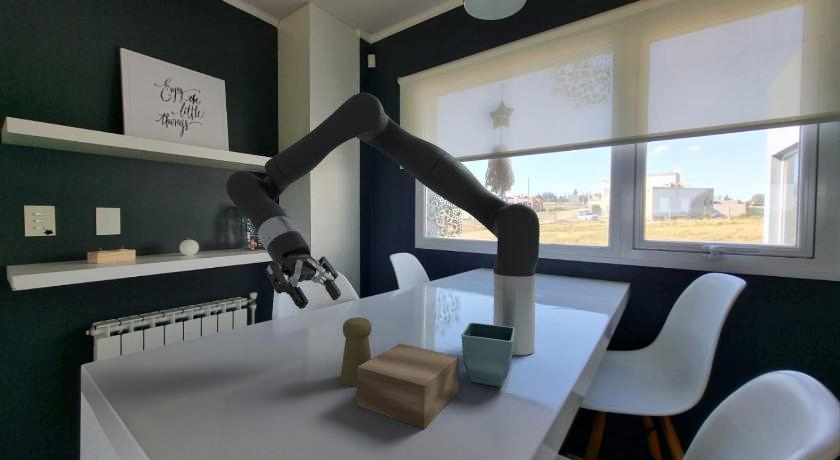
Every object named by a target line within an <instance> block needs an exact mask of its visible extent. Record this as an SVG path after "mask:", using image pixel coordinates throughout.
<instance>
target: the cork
mask: <svg viewBox="0 0 840 460" xmlns="http://www.w3.org/2000/svg"><path fill="white" fill-rule="evenodd" d="M372 328H373V327H372V323H371V321H370V319H368V318H366V317H359V316H358V317H351V318H348V319H346V320H345V322H343V325H342V334H343V336H344V337H345V341H344V342H345V343H344V350H343V355H342V362H341V363H342V364H341V370H340V371H341V372H340V376H339V377H340V378H339V379H340V380H339V381H340V383H341V385H344V386H346V387H354V388H355V387H356V388H357V367H358V366H360V365H362V364H363V363H365V362H367V361H369V360H371V359H372V355H371V348H370V347H371V346H370V339H369V336H370V335H371V332H372V331H373V330H372Z"/></svg>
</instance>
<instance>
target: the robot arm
mask: <svg viewBox="0 0 840 460" xmlns="http://www.w3.org/2000/svg"><path fill="white" fill-rule="evenodd" d="M382 105H383V104H382V103H381V100H379V98H378V97H376V96H375V95H373V94H371V93H368V92H358V93H356V94H354V95H352V96H349V98H348V99H347V100H345V101H344V102H343V103H341V105H340V106H339V107H337V109H336V110H335V111H334V112H332V114H330V115H329V116H328V117H326V119H324V120H323V121H322V122H321V123H319V125H317V126H316V127H315V128H314V129H312V130H311V131H310V132H308V133H306V134H305V135H304V136H303V137H302V138H300V139H299V140H298V141H295V142H294V143H293V144H291V145H289V146H288V147H287V148H285V149H283V150H281V152H278V153H277V154H275V155H274V156H273V157H271V158H269V159H268V160H267V161H266V162H265V164H264V170H265V172H266V174H267V176H266V177H265V178H264V179H263V178H262V179H261V178H260V177H258V176H257V175H255V174H254V173H251V172H249V171H246V170H238V171H234V172H232V173H231V174H230V175H229V176H228V178H227V179H226V182H225V190H226V193H227V196H228V198H229V199H230V201H231V202H232V203H233V204H234V205H235V206H236V208H237V209H238V210H239V211H240V212H241V213H242V214H243V215H244V216H245V217H246V218H247V219H248V220H249V221H250V223H251V225H252V227H253V229H254V230H255V231H256V233H257V235H258V236H259V240H260V242H261V244H262V245H263V247H264V249H265V251H266V252H267V254H268V256H269V257H270V259H271V261H270V263H269V265H268V266H267V267H266V269H265V273H266V276H267V277H268V279H269V281H270V284H271V285H272V287H273V289H274V291H275V293H277V294H278V295H279V294H282V293H285V294H286V295H289V297H290V299H291V300H292V302H293V303H294V305H295V306H296V307H297V308H298V309H299V310H302V309H305V308H306V307H307V305H308V304H309V299H308V298H307V297H306V295H305V293H304V291H303V290H302V288H301V286H298V284H299V283H302V282H304V281H307V282H308V281H309V282H310V281H311V282H312V283H314V284H320V285H322V286H323V287H324V289H325V291H326V292H327V294H328V295H329V296H330V298H331V299H332V301H337V300H338V299H339V298H340V297H341V295H342V293H341V289H340V288H339V287H338V285H337V284H336V282H335V280H336V279H337V278H338V277H339V274H338V272H337V270H336V269H335V268H334V266H332V264H331V263H330V262H329V260H328V258H326V256H321V257H320V258H318V259H315V258H314V257H313V256H312V255H311V248H310V246H309V244H308V243H307V241H306V240H305V238H304V237H303V236H302V234H301V233H300V231H299V230H298V228H297V227H296V225H295V224H294V223H293V222H292V221H291V219H289V217H288V216H287V214H286V213H285V211H284V210H283V208H282V207H281V206H280V205H279V204H278V203H277V202H276V201H277V199H278V198H279V197H281V195H282V194H283V193H284V192H285V191H286V189H287V188H288V187H289V186H290V185H292V184H293V183H295V182H297V181H298V180H300V179H301V178H303V177H304V176H306V175H307V174H309V173H310V172H311V171H313V170H314V169H315V168H316V167H318V166H319V164H321V163H322V162H323V160H325V159H326V157H327V156H328V155H329V154H330V153H331V152H333V151H334V150H336V149H337V148H338V147H339V146H341V145H343V144H344V143H347V142H348V141H350V140H353V139H355V138H356V139H358V140H360V141H362V142H363V143H365V144H367V145H370V147H372V148H374V149H377V150H378V151H380V152H381V153H383V154H384V155H387V157H389V158H391V160H393V161H394V162H396V163H397V164H398V165H399V166H400V167H401V168H402V169H403V170H404V171H406V172H407V173H408V174H409V175H411V176H412V177H413V178H414V179H416V180H417V181H418V182H419V183H421V185H423V186H424V187H426V188H428V189H429V190H430V191H431V192H433V193H434V194H437V196H439V197H441V198H442V199H444V200H446V201H447V202H449V203H450V204H451V205H454V206H455V207H457V208H458V209H461V210H462V211H464V212H465V213H467V214H469V215H470V216H471V217H473V218H474V220H477V222H478V223H480V224H481V225H482V226H483V227H485V228H486V229H487V230H488V231H489V232H490V233H491V234H492V235H493V236H494V237H495V238H497V240H496V242H497V244H496V245H497V247H496V248H497V250H496V256H495V260H494V261H493V307H492V308H493V316H492V317H493V318H492V319H493V321H492V323H493V324H492V325H498V326H507V327H514V328H515V336H514V345H513V352H512V356H527V355H532V354H533V353H535V345H536V344H535V343H536V341H535V340H536V339H535V338H536V335H535V334H536V267H537V265H538V262H539V253H540V236H541V235H540V233H541V232H540V230H541V229H540V228H541V227H540V220H539V216H538V214H537V212H536V211H535V209H533V208H532V207H531V206H530V205H527V204H524V203H513V204H511V203H509V202H508V201H506V200H504V199H502V198H501V197H500V196H498V195H496V194H494V193H493V192H492V191H490V190H488V189H487V188H486V187H485V186H484V185H483V184H482V183H481V182H480V180H479V179H478V178H477V177H476V175H475V174H473V172H472V171H471V170H470V169H469V168H468V167H467V165H464V164H463V163H462V162H461V161H460V160H458V159H457V158H456V157H454V156H453V155H451V154H450V153H449V152H447V151H446V150H444V149H443V148H441V147H439V146H438V145H436V144H435V143H432V142H430V141H427V140H425V139H423V138H420V137H418V136H415V135H413V134H411V133H410V132H408V131H406V130H405V129H404V128H402V127H401V126H400V125H399V124H398V123H396V121H394V120H393V119H392V118H391V117H390V116H389V115H387V113H386V112H385V110H384V107H383V106H382ZM317 273H318V275H316V274H317ZM286 276H287V277H286ZM322 277H323V278H325V279H323V278H322Z"/></svg>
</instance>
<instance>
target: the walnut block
mask: <svg viewBox="0 0 840 460" xmlns="http://www.w3.org/2000/svg"><path fill="white" fill-rule="evenodd" d="M459 382H460V356H459V355H454V354H449V353H445V352H440V351H436V350H432V349H431V350H430V349H427V348H422V347H416V346H413V345H407V344H403V343H398V344H397V345H394V346H393V347H390V348H389V349H387V350H385V351H383V352H382V353H379V354H378V355H376V356H374V357H373V358H371V360H369V361H367V362H365V363H363V364H362V365H360V366H358V367H357V387H356V406H357V407H361V408H362V409H366V410H369V411H371V412H375V413H376V414H380V415H383V416H386V417H389V418H392V419H394V420H397V421H400V422H402V423H405V424H408V425H411V426H414V427H416V428H420V429H423V430H426V429H427V427H428V426H429V424H431V423H432V422H433V421H434V419H435V418H436V417H437V416H438V415H439V414H440V413H441V412H442V411H443V410H444V409H445V408H446V406H448V404H449V403H450V402H451V401H452V400H453V399H454V398H455V397H456V395H457V394H458V393H459V391H460V390H459V389H460V384H459Z"/></svg>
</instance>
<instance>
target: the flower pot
mask: <svg viewBox="0 0 840 460" xmlns="http://www.w3.org/2000/svg"><path fill="white" fill-rule="evenodd" d="M514 336H515V328H514V327H507V326H498V325H493V324H488V323H487V324H486V323H479V322H470V323H468V325H467V326H466V328H465V329H464V330H463V332H462V333H461V347H462V357H463V363H464V364H463V365H464V367H465V370H466V373H467V375H468V377H469V378H470V380H471V381H472V382H473V383H474V384H481V385H487V386H493V387H497V388H501V387H502V386H503V385H504V383H505V381H506V379H507V378H508V374H509V372H510V369H511V363H512V357H513V355H512V352H513V345H514Z"/></svg>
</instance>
